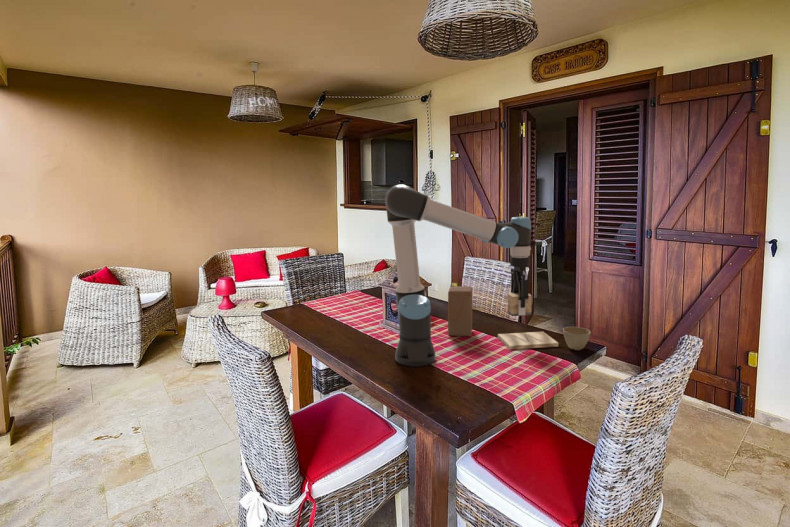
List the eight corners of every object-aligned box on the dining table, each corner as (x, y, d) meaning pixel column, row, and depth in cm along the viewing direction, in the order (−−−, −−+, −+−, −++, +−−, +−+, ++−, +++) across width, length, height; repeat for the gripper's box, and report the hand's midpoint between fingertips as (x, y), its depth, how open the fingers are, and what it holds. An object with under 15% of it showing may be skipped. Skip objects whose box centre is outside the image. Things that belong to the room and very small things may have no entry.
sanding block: (512, 316, 177) (512, 296, 175) (507, 312, 182) (507, 293, 180) (531, 314, 177) (531, 295, 176) (526, 311, 182) (526, 292, 181)
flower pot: (577, 354, 168) (578, 336, 167) (556, 346, 177) (557, 329, 175) (595, 349, 172) (596, 331, 171) (574, 341, 181) (575, 325, 180)
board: (509, 349, 174) (509, 345, 174) (497, 337, 188) (497, 334, 188) (558, 346, 176) (558, 342, 176) (542, 334, 190) (543, 331, 190)
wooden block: (471, 337, 189) (471, 291, 185) (447, 336, 191) (447, 290, 187) (472, 329, 199) (472, 286, 195) (449, 328, 201) (449, 285, 197)
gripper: (539, 259, 167) (537, 319, 171) (520, 252, 185) (519, 306, 189) (519, 260, 166) (518, 320, 170) (503, 253, 184) (502, 307, 188)
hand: (518, 312), depth 179 cm, fingers closed on sanding block, 5 cm apart
